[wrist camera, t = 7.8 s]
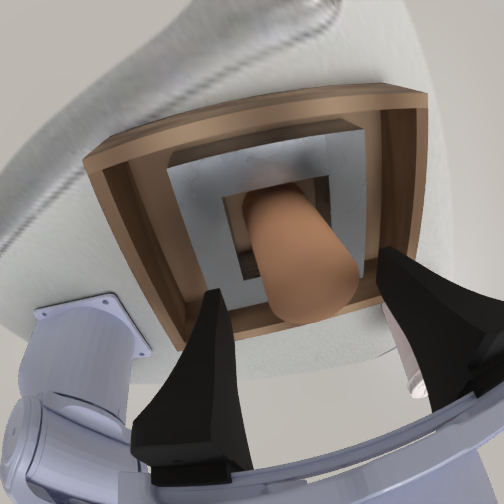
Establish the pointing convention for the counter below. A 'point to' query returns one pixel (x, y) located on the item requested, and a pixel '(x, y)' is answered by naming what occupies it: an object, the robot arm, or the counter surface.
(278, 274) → the peg
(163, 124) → the socket box
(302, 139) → the socket plate
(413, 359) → the smoothie
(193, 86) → the counter surface
